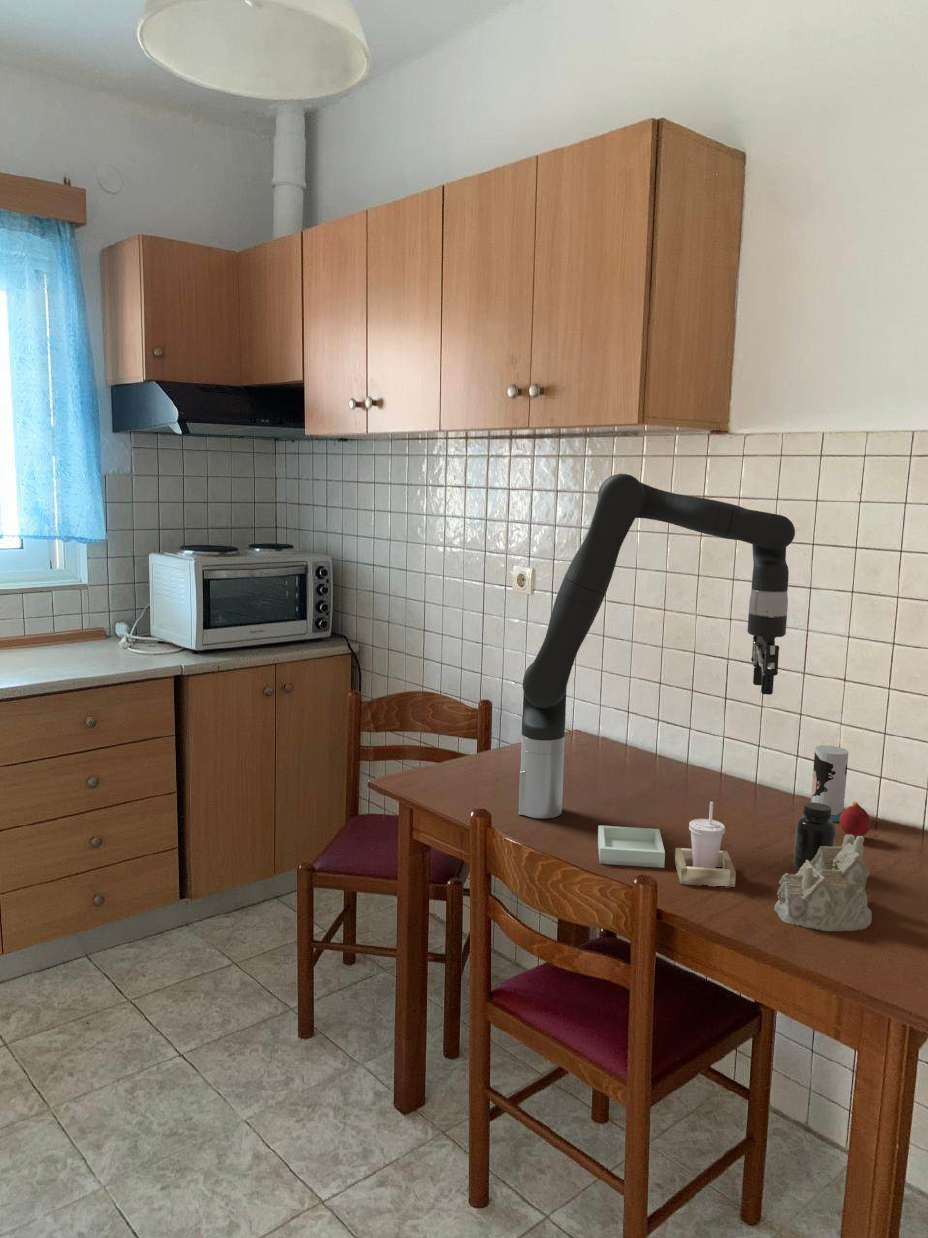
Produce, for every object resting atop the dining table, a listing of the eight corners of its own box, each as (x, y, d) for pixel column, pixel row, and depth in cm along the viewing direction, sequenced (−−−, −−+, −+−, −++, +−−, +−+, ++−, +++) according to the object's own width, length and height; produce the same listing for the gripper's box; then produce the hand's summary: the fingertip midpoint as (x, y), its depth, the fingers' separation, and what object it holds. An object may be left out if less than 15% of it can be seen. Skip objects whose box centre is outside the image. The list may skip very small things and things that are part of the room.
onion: (867, 836, 191) (871, 799, 190) (870, 846, 186) (873, 808, 184) (837, 832, 193) (840, 795, 192) (838, 842, 187) (842, 804, 186)
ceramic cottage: (859, 893, 164) (861, 812, 161) (880, 940, 148) (883, 852, 146) (767, 888, 167) (767, 809, 165) (778, 934, 151) (779, 848, 149)
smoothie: (723, 884, 167) (728, 809, 165) (686, 880, 168) (690, 806, 166) (720, 869, 173) (725, 797, 171) (685, 866, 174) (689, 794, 172)
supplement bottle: (827, 878, 170) (833, 815, 168) (789, 869, 174) (794, 808, 172) (835, 865, 176) (840, 804, 174) (797, 857, 180) (802, 797, 178)
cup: (835, 811, 206) (841, 745, 203) (847, 822, 199) (853, 754, 197) (805, 810, 206) (810, 745, 203) (816, 821, 199) (821, 754, 197)
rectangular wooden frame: (680, 884, 166) (681, 868, 166) (674, 862, 176) (675, 847, 175) (734, 887, 165) (735, 871, 165) (726, 866, 174) (727, 851, 174)
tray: (599, 863, 174) (600, 848, 174) (597, 839, 186) (598, 825, 186) (664, 868, 173) (665, 852, 173) (658, 843, 185) (659, 829, 184)
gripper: (742, 606, 197) (737, 681, 200) (755, 616, 183) (750, 696, 186) (779, 608, 196) (773, 683, 199) (794, 617, 182) (788, 698, 185)
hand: (762, 689), depth 192 cm, fingers open, 8 cm apart
